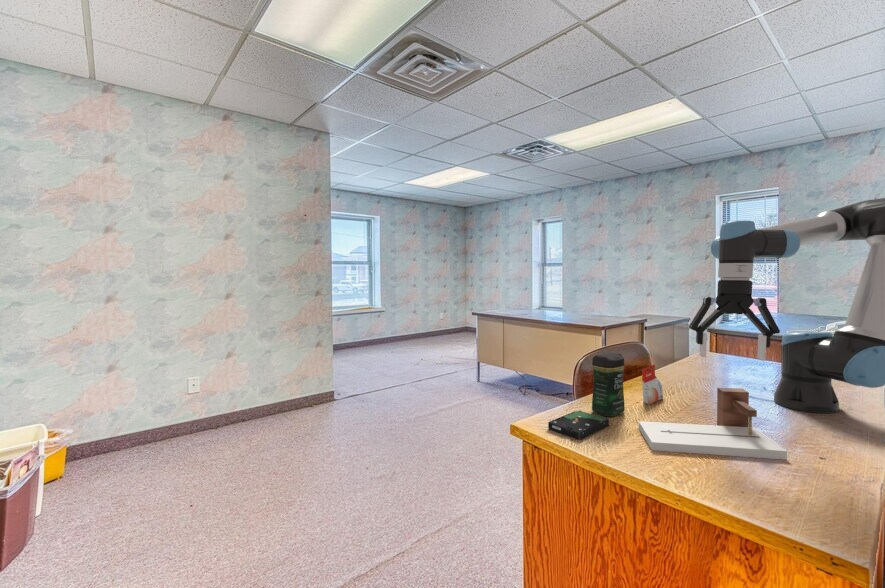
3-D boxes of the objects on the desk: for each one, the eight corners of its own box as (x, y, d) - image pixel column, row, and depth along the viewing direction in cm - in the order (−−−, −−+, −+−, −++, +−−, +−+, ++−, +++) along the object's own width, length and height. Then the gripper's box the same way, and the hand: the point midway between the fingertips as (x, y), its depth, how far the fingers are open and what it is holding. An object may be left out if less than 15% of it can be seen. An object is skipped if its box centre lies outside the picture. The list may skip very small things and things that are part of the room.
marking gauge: (740, 426, 110) (740, 387, 110) (766, 447, 97) (767, 403, 97) (715, 425, 112) (715, 386, 111) (738, 445, 99) (738, 402, 98)
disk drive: (580, 443, 105) (610, 427, 114) (580, 432, 104) (610, 417, 114) (547, 431, 113) (577, 417, 122) (547, 421, 113) (577, 408, 122)
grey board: (755, 435, 105) (755, 427, 104) (786, 459, 91) (787, 450, 91) (638, 428, 111) (638, 420, 111) (651, 450, 98) (651, 441, 98)
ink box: (663, 398, 136) (663, 365, 135) (650, 404, 130) (650, 370, 130) (654, 396, 138) (654, 364, 138) (642, 402, 132) (641, 368, 132)
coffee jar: (610, 419, 119) (609, 357, 118) (587, 412, 125) (587, 353, 124) (629, 412, 124) (629, 353, 123) (607, 405, 130) (606, 349, 129)
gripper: (686, 279, 107) (683, 357, 108) (799, 280, 100) (794, 364, 101) (678, 278, 114) (675, 352, 116) (783, 279, 107) (779, 358, 108)
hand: (731, 357), depth 108 cm, fingers open, 13 cm apart
